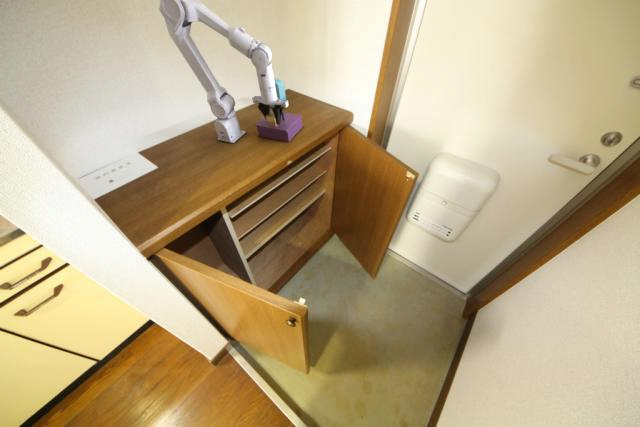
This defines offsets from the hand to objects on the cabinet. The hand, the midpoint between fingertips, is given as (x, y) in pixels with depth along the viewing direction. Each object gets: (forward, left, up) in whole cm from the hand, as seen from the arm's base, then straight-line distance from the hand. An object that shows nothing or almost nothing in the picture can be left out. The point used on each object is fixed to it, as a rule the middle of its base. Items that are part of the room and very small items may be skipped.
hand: (274, 122), depth 90 cm
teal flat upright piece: (+27, +16, -6) cm, 32 cm away
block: (0, 0, 0) cm, 0 cm away
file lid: (+4, 0, -1) cm, 4 cm away
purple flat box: (+4, 0, -6) cm, 7 cm away
